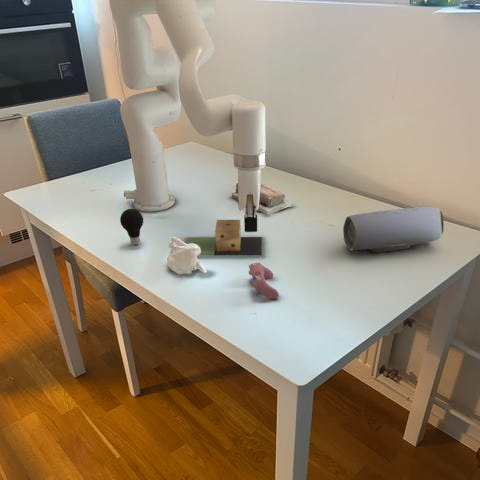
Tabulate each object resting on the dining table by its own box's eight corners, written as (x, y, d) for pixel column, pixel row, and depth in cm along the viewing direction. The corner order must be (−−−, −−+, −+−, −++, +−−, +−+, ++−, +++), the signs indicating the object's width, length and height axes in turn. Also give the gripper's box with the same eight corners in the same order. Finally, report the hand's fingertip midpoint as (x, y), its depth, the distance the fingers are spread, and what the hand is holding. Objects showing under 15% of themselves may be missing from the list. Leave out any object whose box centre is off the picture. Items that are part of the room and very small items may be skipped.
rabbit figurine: (212, 273, 120) (209, 237, 114) (189, 287, 115) (185, 249, 110) (177, 258, 126) (173, 223, 121) (155, 270, 122) (149, 234, 116)
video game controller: (257, 283, 119) (243, 261, 115) (274, 274, 118) (260, 252, 114) (262, 307, 111) (247, 284, 107) (280, 298, 110) (266, 274, 106)
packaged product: (229, 183, 154) (255, 175, 159) (230, 198, 157) (255, 190, 161) (266, 200, 142) (293, 191, 147) (266, 216, 145) (292, 207, 150)
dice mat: (182, 257, 127) (182, 255, 127) (187, 239, 135) (187, 237, 135) (261, 256, 126) (261, 255, 125) (261, 238, 134) (261, 236, 134)
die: (216, 251, 128) (215, 230, 124) (218, 240, 133) (217, 219, 129) (240, 251, 127) (239, 229, 124) (241, 240, 132) (240, 219, 129)
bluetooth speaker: (422, 234, 133) (430, 198, 127) (440, 251, 125) (448, 213, 119) (340, 243, 130) (344, 207, 124) (353, 261, 123) (357, 223, 117)
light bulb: (128, 252, 130) (122, 216, 124) (122, 242, 134) (115, 208, 128) (150, 246, 132) (144, 211, 126) (143, 237, 136) (137, 203, 131)
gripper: (235, 148, 123) (237, 218, 133) (231, 170, 110) (234, 244, 121) (265, 148, 122) (265, 217, 133) (265, 169, 110) (265, 244, 121)
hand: (251, 230), depth 127 cm, fingers closed
